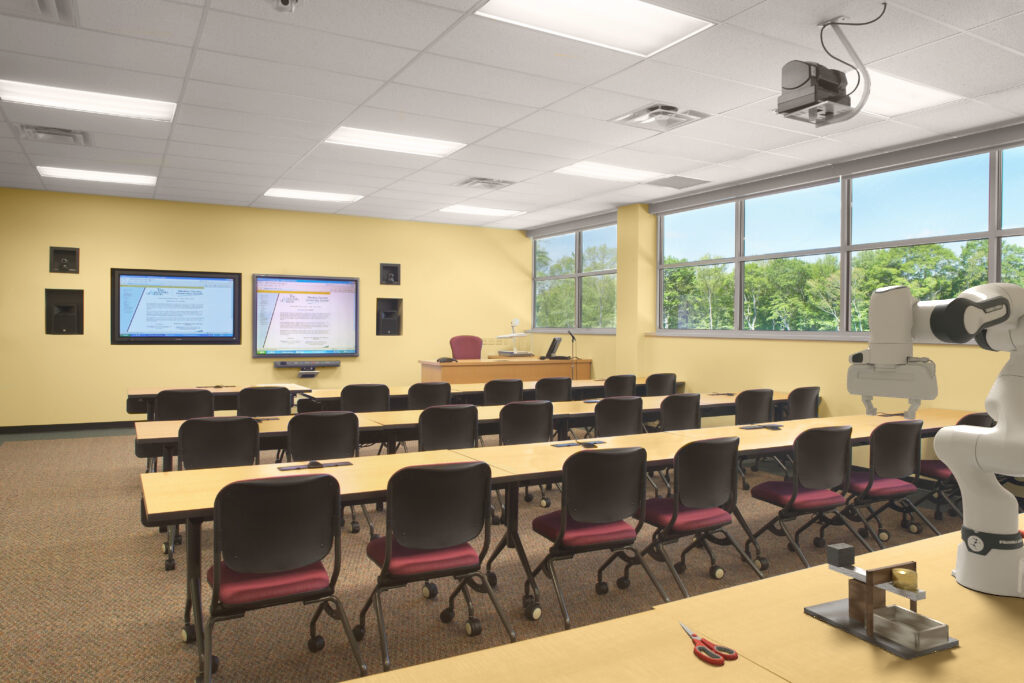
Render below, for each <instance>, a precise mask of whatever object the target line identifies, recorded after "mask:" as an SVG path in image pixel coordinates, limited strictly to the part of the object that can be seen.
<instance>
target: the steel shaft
mask: <svg viewBox="0 0 1024 683" xmlns="http://www.w3.org/2000/svg"><path fill="white" fill-rule="evenodd" d="M855 548H856V547H855V546H854V545H851V544H849V543H844V542H839V543H833V544H828V545H826V564H827V565H828V570H830V571H834V572H837V573H839V574H842V575H844V576H846V577H847V576H848V577H850V578H851V579H853V578H855V579H857V580H860V581H863V582H865V583H866V570H867V569H864V568H860V567H859V566H856V565H855V564H856V562H855V561H856V558H855V557H856V556H855V555H856V553H855ZM874 586H876V587H879V588H882V589H884V590H886V591H888V592H889V593H892V594H894V595H898V596H901V597H903V598H906V599H908V600H910V599H911V600H914V601H922V600H925V599H927V597H926V594H927V593H926V592H927V591H926V590H924V589H920V588H918V589H917V590H915V591H906V590H901V589H897V588H895V587H893V585H892V582H888V583H883V584H878V585H874Z"/></svg>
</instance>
